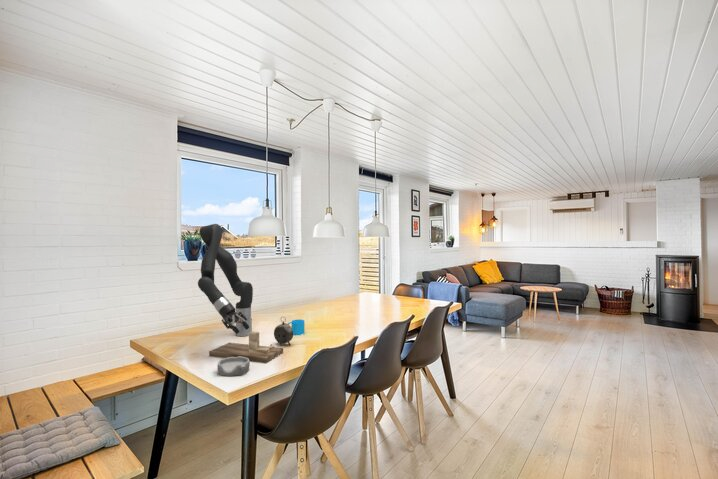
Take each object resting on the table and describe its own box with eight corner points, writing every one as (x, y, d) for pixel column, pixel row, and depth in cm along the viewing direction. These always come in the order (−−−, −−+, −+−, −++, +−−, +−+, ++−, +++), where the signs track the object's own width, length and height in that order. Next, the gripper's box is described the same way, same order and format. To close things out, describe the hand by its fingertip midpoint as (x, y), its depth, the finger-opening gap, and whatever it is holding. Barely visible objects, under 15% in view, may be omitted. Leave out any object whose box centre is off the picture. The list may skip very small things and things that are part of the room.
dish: (249, 375, 154) (249, 364, 154) (215, 379, 151) (215, 367, 151) (249, 364, 168) (249, 353, 168) (219, 367, 164) (219, 356, 164)
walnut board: (229, 346, 195) (229, 342, 195) (283, 352, 184) (283, 348, 184) (208, 356, 179) (208, 351, 179) (266, 363, 169) (266, 358, 169)
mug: (305, 332, 226) (305, 319, 226) (302, 335, 218) (302, 322, 218) (287, 331, 227) (287, 319, 227) (284, 335, 219) (284, 322, 219)
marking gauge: (260, 346, 187) (260, 328, 187) (276, 348, 184) (276, 329, 184) (248, 352, 177) (248, 333, 177) (266, 354, 174) (266, 334, 174)
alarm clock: (293, 345, 198) (293, 316, 198) (288, 347, 193) (288, 318, 193) (278, 342, 203) (278, 314, 203) (272, 345, 198) (272, 316, 198)
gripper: (219, 305, 176) (239, 329, 173) (237, 300, 190) (255, 322, 187) (210, 315, 178) (230, 339, 175) (228, 309, 191) (247, 331, 188)
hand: (243, 330), depth 181 cm, fingers open, 8 cm apart
